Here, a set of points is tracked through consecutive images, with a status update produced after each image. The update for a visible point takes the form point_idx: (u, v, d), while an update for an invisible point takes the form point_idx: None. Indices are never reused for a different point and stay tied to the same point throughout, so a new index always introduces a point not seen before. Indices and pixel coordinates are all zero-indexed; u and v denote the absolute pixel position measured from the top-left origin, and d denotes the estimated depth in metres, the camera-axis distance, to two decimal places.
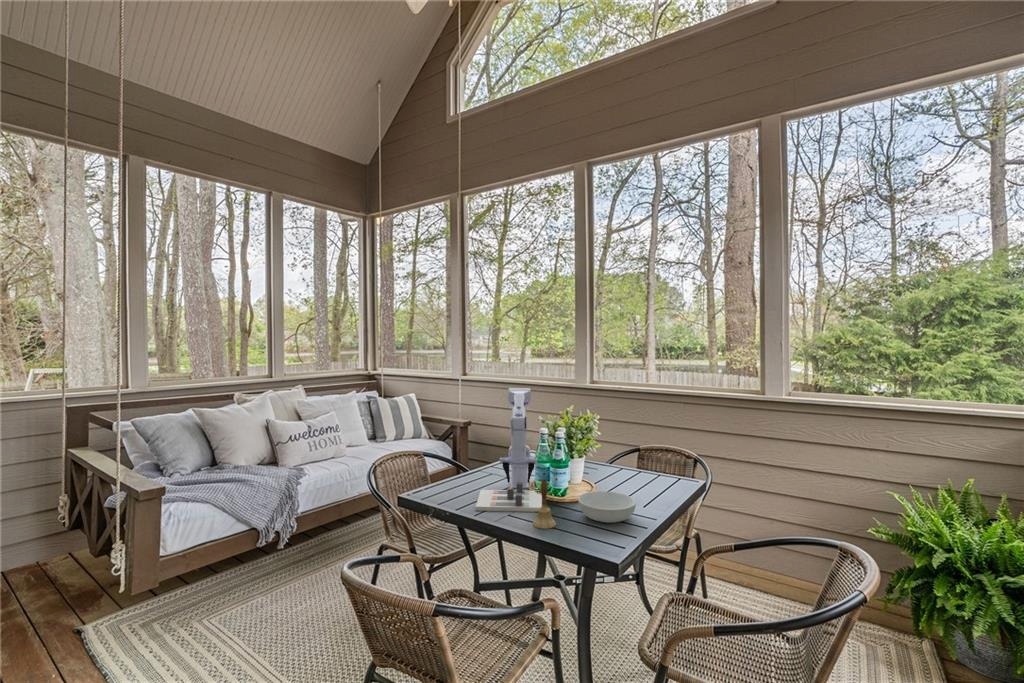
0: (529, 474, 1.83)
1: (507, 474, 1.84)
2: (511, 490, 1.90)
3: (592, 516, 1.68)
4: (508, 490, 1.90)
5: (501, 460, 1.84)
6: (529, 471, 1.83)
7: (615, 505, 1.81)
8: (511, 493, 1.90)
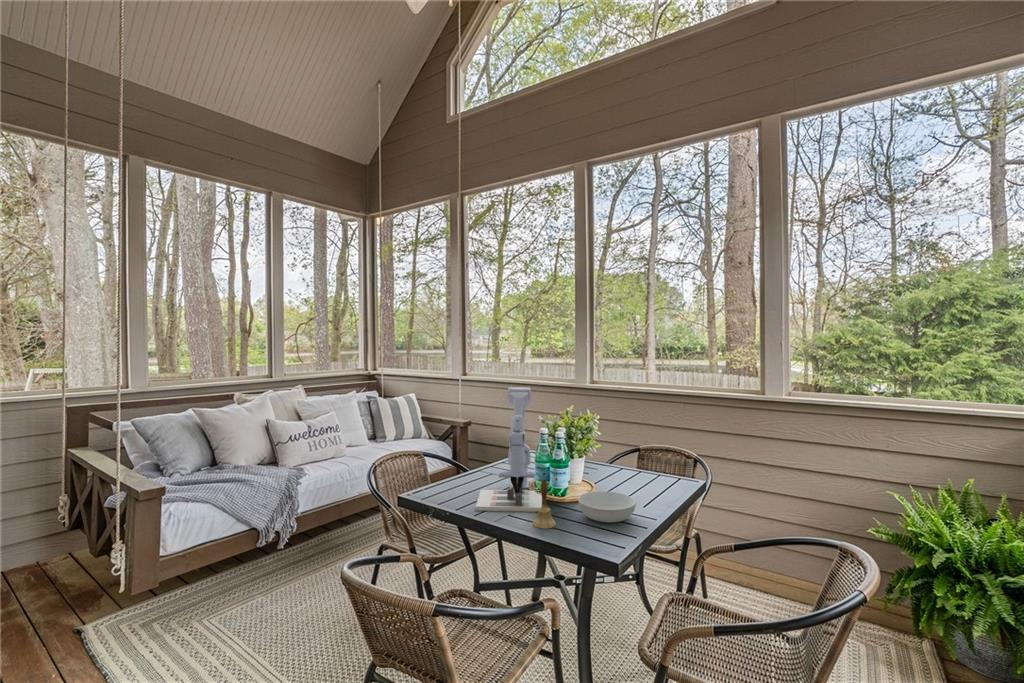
0: (518, 488, 1.90)
1: (515, 488, 1.90)
2: (511, 490, 1.90)
3: (592, 516, 1.68)
4: (508, 490, 1.90)
5: (500, 474, 1.90)
6: (518, 485, 1.89)
7: (615, 505, 1.81)
8: (511, 493, 1.90)
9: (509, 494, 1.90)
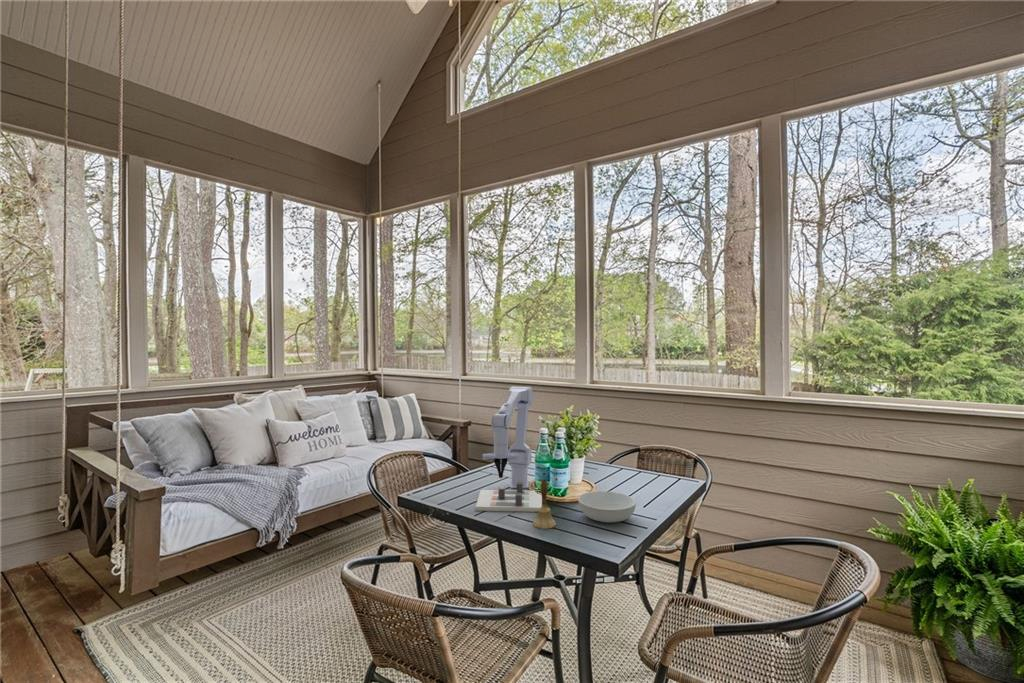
0: (502, 469, 1.90)
1: (498, 469, 1.90)
2: (502, 490, 1.90)
3: (592, 516, 1.68)
4: (499, 490, 1.90)
5: (484, 456, 1.90)
6: (502, 466, 1.89)
7: (615, 505, 1.81)
8: (502, 493, 1.90)
9: (500, 494, 1.90)
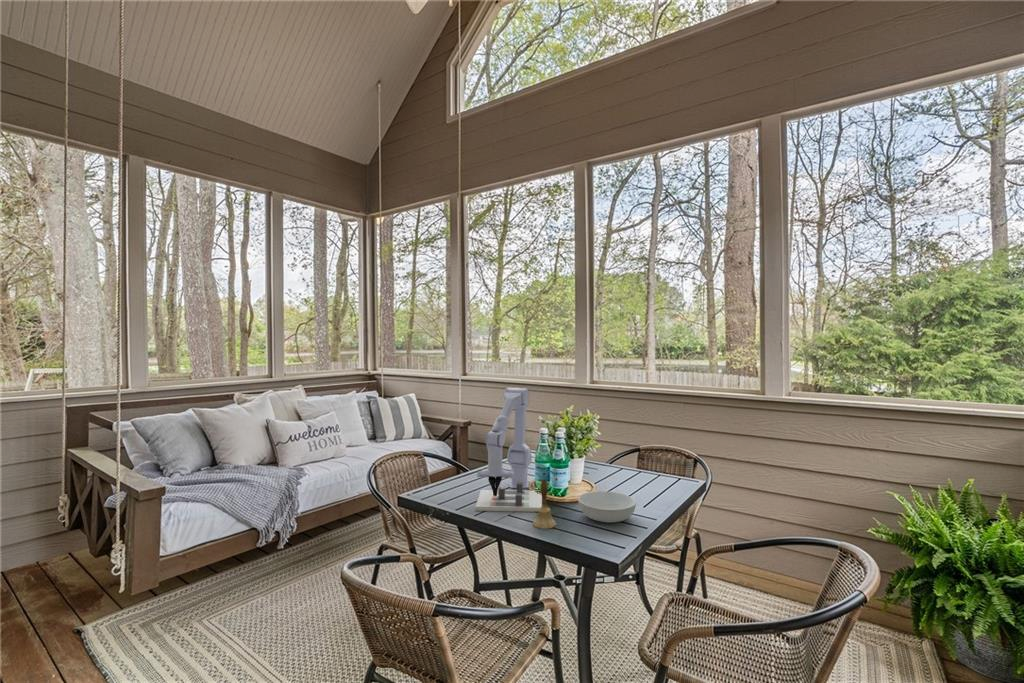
0: (496, 487, 1.90)
1: (493, 488, 1.90)
2: (502, 490, 1.90)
3: (592, 516, 1.68)
4: (499, 490, 1.90)
5: (478, 474, 1.91)
6: (496, 484, 1.90)
7: (615, 505, 1.81)
8: (502, 493, 1.90)
9: (500, 494, 1.90)
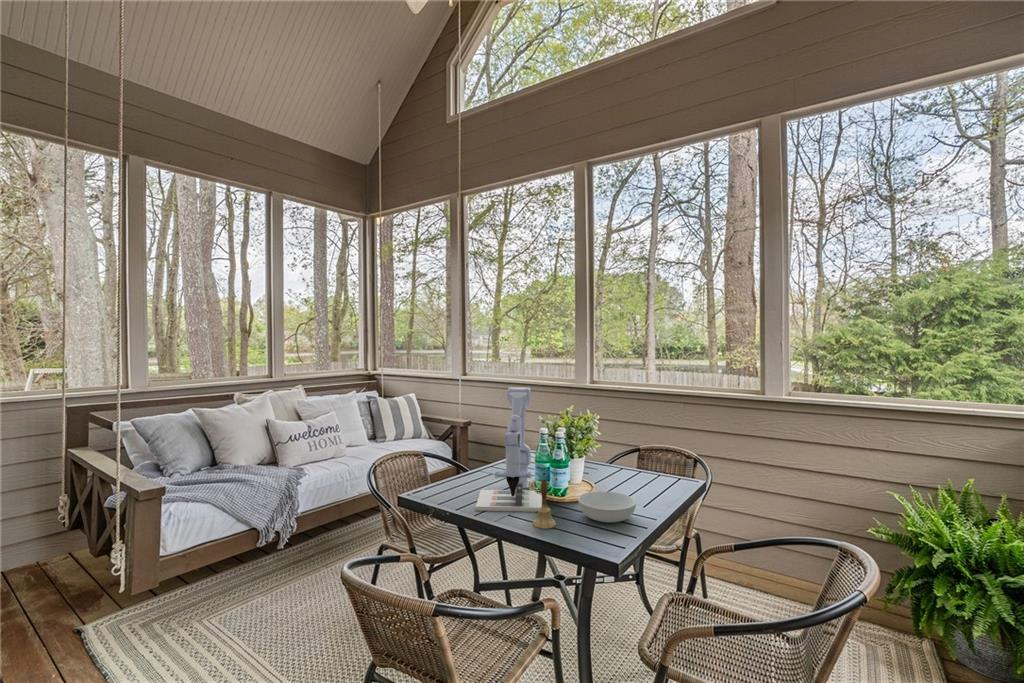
0: (514, 488, 1.90)
1: (511, 488, 1.90)
2: (520, 490, 1.90)
3: (592, 516, 1.68)
4: (517, 490, 1.90)
5: (496, 474, 1.90)
6: (514, 485, 1.89)
7: (615, 505, 1.81)
8: None
9: None
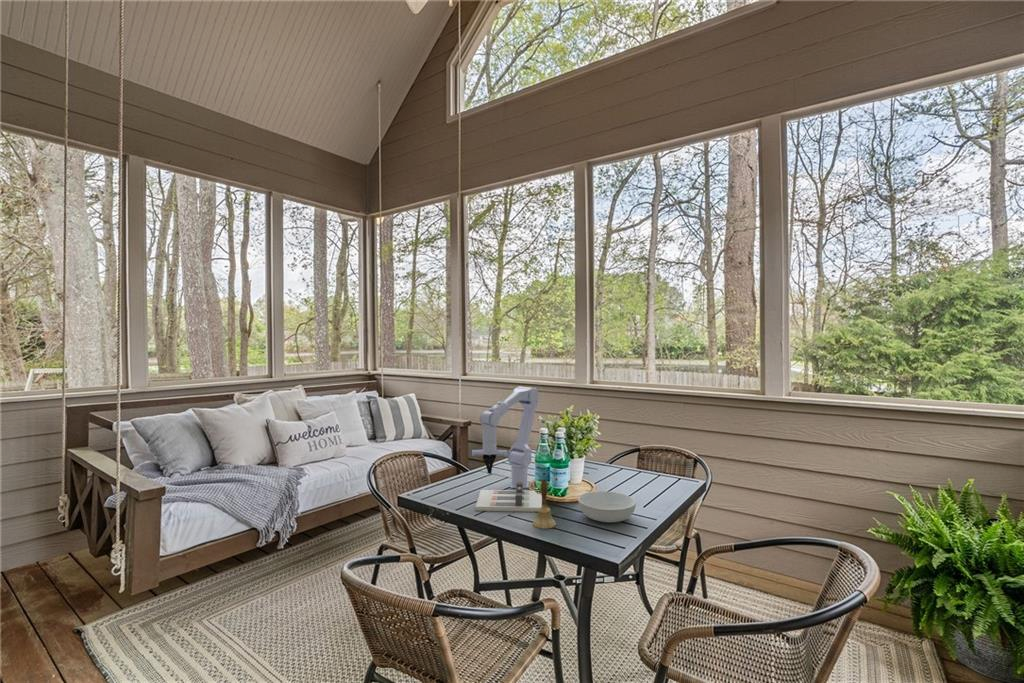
0: (491, 465, 1.96)
1: (487, 465, 1.96)
2: (520, 490, 1.90)
3: (592, 516, 1.68)
4: (517, 490, 1.90)
5: (473, 452, 1.97)
6: (491, 462, 1.96)
7: (615, 505, 1.81)
8: None
9: None
